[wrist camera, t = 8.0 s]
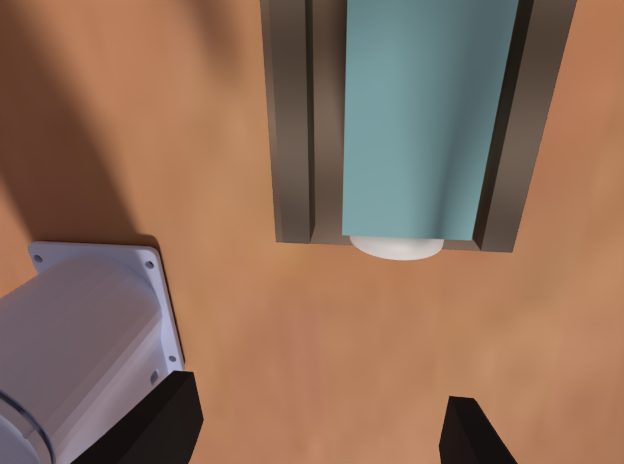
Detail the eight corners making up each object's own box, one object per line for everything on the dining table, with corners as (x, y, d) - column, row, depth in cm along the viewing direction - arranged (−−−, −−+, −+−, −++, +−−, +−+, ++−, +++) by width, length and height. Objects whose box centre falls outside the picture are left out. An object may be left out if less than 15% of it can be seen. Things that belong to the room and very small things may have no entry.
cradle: (500, 242, 17) (527, 275, 14) (280, 233, 18) (266, 261, 16) (616, -243, 10) (707, -355, 8) (254, -201, 12) (221, -283, 9)
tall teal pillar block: (435, 215, 16) (465, 273, 11) (346, 213, 16) (341, 267, 12) (487, -153, 11) (580, -318, 6) (356, -141, 11) (353, -285, 7)
